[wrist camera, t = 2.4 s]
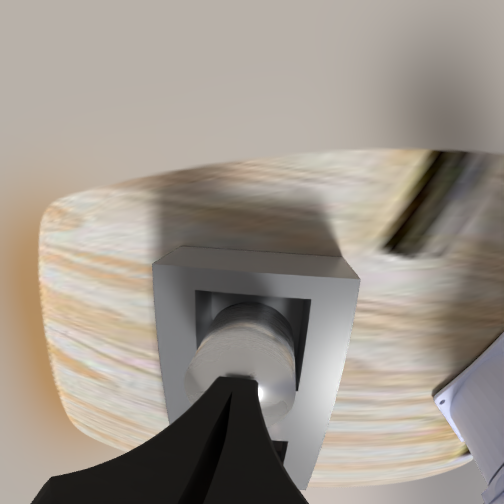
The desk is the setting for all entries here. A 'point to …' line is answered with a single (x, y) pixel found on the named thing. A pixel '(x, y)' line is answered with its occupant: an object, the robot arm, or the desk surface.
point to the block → (280, 298)
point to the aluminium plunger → (248, 356)
